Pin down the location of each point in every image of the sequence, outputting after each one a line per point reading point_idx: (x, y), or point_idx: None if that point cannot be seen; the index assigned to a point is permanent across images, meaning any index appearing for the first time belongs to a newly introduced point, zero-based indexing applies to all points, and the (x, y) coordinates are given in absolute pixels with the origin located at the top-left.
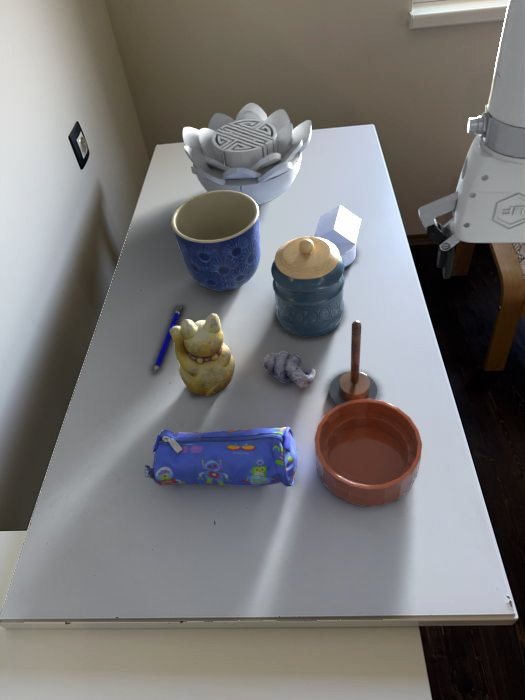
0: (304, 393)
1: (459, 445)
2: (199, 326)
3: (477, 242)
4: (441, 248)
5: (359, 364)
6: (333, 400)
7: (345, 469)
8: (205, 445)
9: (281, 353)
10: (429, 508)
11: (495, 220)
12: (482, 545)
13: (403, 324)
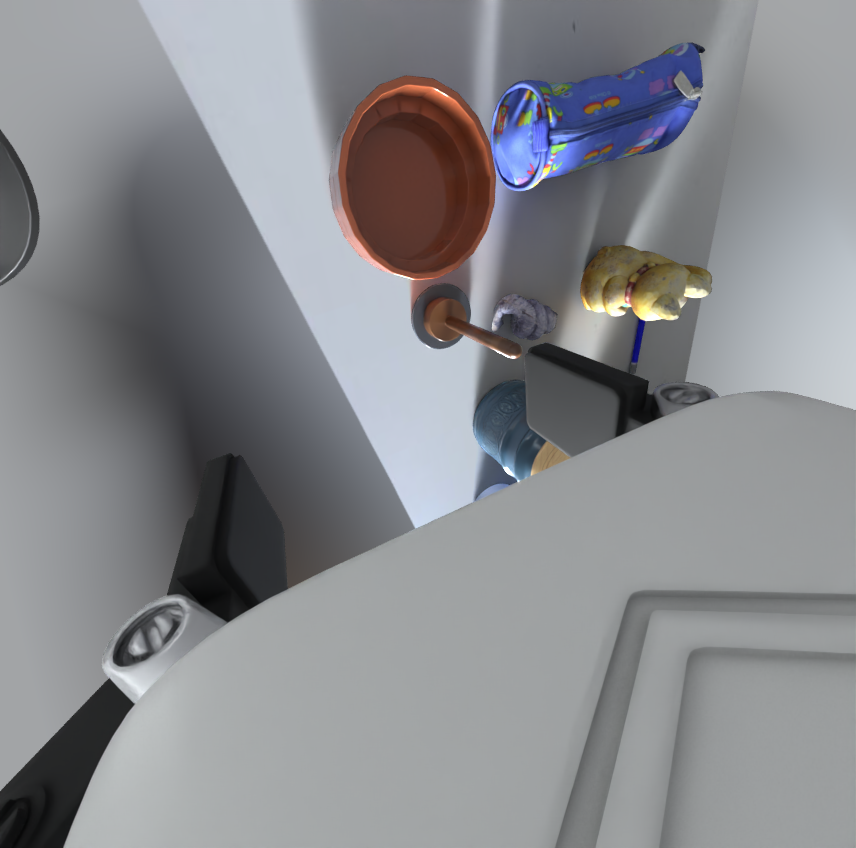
0: (495, 294)
1: (281, 266)
2: (682, 297)
3: (671, 414)
4: (686, 384)
5: (461, 329)
6: (462, 291)
7: (429, 167)
8: (646, 96)
9: (543, 330)
10: (293, 123)
11: None
12: (183, 53)
13: (402, 443)
